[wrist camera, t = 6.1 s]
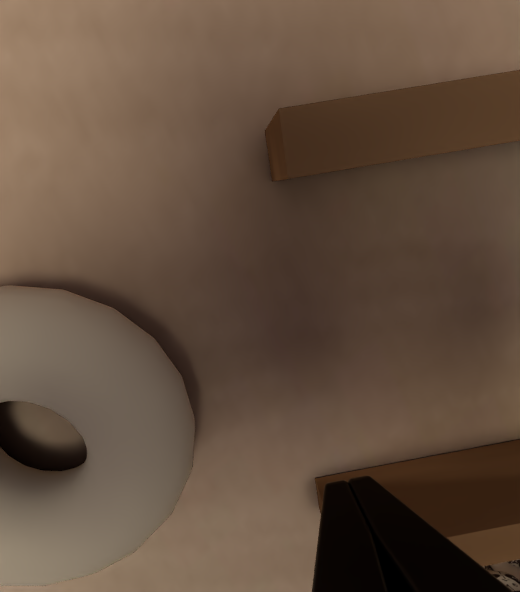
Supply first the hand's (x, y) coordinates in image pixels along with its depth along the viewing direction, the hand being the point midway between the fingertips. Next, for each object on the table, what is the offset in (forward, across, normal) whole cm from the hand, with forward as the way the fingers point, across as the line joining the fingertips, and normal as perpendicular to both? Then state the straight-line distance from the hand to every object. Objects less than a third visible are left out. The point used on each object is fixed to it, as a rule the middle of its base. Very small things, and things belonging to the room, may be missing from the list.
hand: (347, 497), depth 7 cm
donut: (+5, +14, +2) cm, 15 cm away
